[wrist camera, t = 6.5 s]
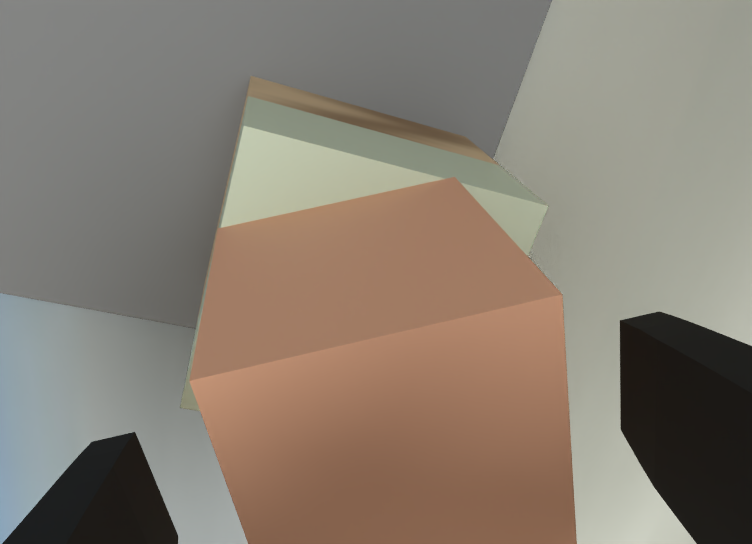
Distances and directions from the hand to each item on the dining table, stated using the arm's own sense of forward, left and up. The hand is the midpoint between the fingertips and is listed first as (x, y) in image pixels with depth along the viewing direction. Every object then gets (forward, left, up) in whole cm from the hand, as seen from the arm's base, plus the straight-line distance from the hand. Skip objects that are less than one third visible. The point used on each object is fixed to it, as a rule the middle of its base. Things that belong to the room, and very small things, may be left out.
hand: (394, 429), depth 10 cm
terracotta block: (0, 0, -4) cm, 4 cm away
